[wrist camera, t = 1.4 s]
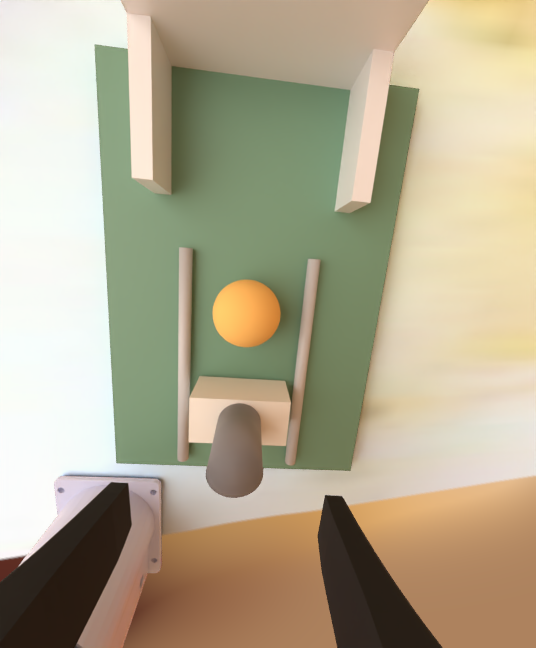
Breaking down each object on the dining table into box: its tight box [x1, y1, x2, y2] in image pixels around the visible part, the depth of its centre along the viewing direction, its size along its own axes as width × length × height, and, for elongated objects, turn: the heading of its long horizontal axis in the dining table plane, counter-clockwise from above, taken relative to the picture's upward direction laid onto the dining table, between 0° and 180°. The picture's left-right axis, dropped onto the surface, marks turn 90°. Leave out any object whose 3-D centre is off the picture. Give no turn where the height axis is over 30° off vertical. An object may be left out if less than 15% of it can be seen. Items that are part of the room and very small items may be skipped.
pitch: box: [95, 45, 419, 471], centre depth 18 cm, size 26×18×2 cm
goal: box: [121, 0, 429, 213], centre depth 12 cm, size 8×12×6 cm, turn 85°
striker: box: [189, 376, 291, 498], centre depth 16 cm, size 3×6×7 cm, turn 85°
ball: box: [213, 280, 281, 347], centre depth 16 cm, size 4×4×4 cm
